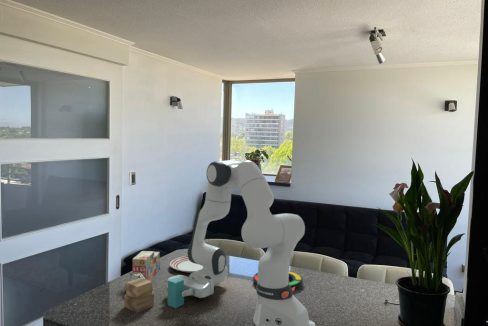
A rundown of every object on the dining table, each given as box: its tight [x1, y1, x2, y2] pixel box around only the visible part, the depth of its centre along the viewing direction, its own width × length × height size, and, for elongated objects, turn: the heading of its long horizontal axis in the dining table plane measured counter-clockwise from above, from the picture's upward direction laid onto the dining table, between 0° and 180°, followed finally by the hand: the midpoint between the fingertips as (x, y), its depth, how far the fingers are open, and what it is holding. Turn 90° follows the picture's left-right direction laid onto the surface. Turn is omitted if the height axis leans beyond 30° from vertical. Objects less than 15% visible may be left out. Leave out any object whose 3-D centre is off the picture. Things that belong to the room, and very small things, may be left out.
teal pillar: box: [167, 277, 185, 309], centre depth 150 cm, size 4×4×10 cm
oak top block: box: [125, 278, 153, 300], centre depth 147 cm, size 7×7×5 cm
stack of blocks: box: [132, 250, 161, 281], centre depth 180 cm, size 21×6×12 cm, turn 175°
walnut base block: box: [123, 292, 155, 314], centre depth 148 cm, size 8×8×5 cm
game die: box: [128, 272, 145, 282], centre depth 163 cm, size 9×8×10 cm
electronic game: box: [252, 270, 304, 289], centre depth 174 cm, size 23×23×5 cm
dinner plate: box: [169, 255, 203, 274], centre depth 195 cm, size 28×27×3 cm
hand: (174, 291), depth 149 cm, fingers open, 7 cm apart
